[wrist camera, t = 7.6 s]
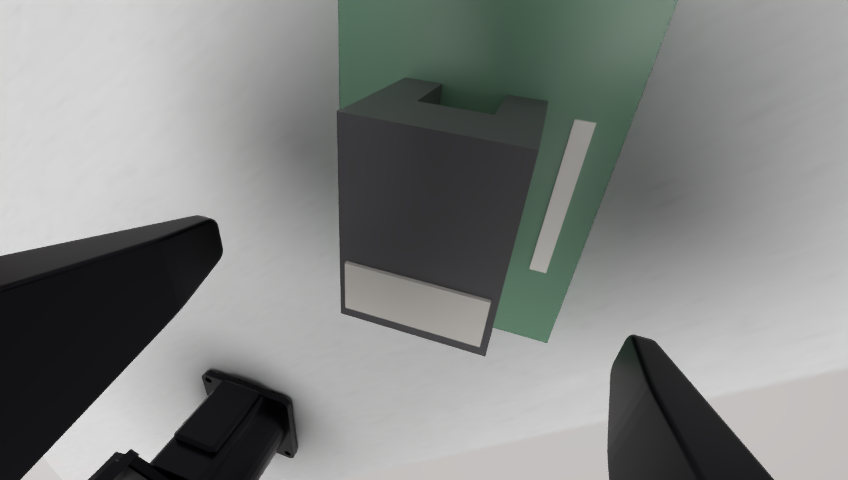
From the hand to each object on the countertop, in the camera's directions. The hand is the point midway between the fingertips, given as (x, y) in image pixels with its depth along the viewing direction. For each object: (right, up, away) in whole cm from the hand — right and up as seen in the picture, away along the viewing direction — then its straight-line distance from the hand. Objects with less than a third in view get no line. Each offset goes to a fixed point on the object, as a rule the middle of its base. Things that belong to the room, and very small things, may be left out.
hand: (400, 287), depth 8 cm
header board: (+2, +4, +6) cm, 8 cm away
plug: (+2, +3, +5) cm, 6 cm away
